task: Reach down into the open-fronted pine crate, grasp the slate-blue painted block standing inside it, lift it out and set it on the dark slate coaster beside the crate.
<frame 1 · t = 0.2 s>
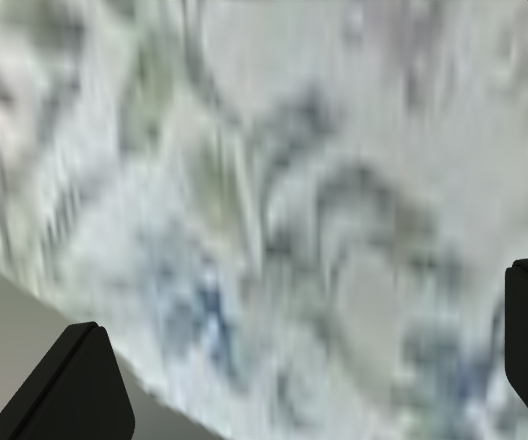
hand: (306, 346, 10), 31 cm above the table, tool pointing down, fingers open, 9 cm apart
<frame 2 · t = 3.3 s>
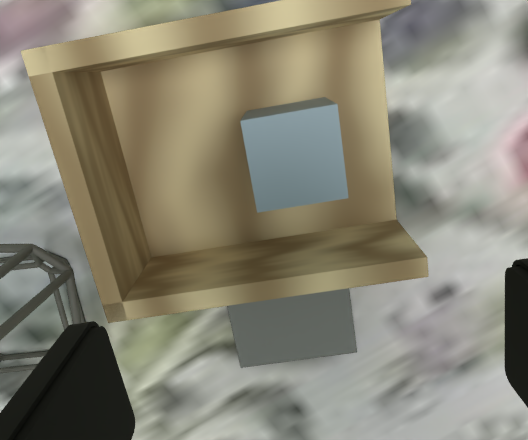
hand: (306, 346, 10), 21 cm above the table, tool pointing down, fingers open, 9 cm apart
coaster: (289, 304, 34), on the table
block: (291, 142, 29), resting on crate
crate: (246, 149, 30), on the table
geometric lantern: (20, 294, 34), on the table
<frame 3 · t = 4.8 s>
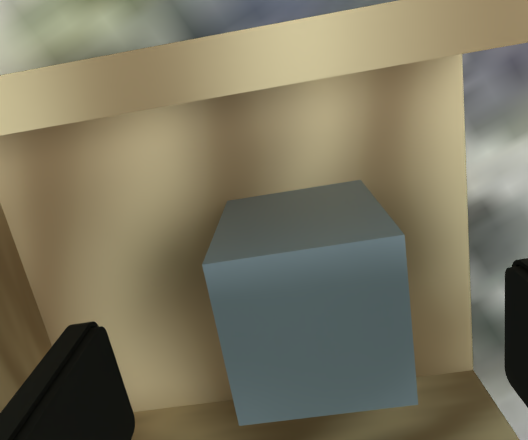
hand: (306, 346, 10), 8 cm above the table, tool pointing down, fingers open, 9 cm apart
block: (302, 252, 17), resting on crate
crate: (228, 258, 18), on the table
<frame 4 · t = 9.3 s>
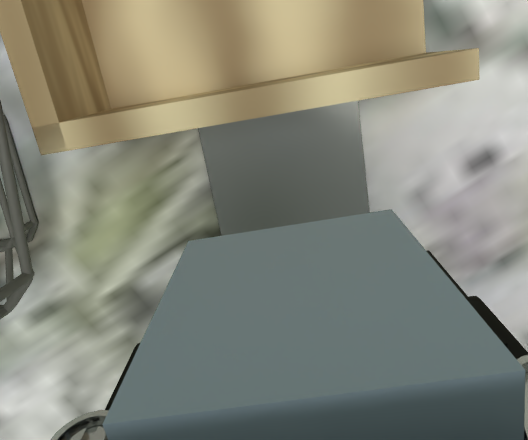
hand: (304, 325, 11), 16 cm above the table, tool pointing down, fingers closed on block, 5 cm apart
coaster: (287, 177, 27), on the table
block: (302, 314, 12), point 16 cm above the table, touching gripper
when the fingers open (3 cm above the table, at t = 12.0 s): block drops 2 cm, resting on coaster.
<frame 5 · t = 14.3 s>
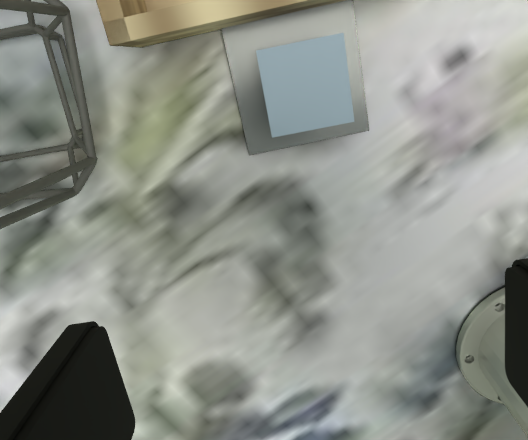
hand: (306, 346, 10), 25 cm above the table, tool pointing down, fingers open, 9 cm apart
coaster: (297, 80, 32), on the table
block: (298, 81, 32), point 1 cm above the table, touching coaster
geometric lantern: (13, 82, 32), on the table
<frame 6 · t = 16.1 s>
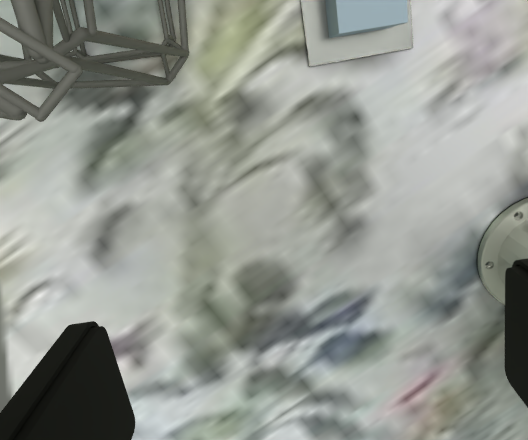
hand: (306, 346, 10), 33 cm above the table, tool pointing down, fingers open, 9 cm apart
coaster: (354, 1, 38), on the table
block: (355, 1, 38), point 1 cm above the table, touching coaster
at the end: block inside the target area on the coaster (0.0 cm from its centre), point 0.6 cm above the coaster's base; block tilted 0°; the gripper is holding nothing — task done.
